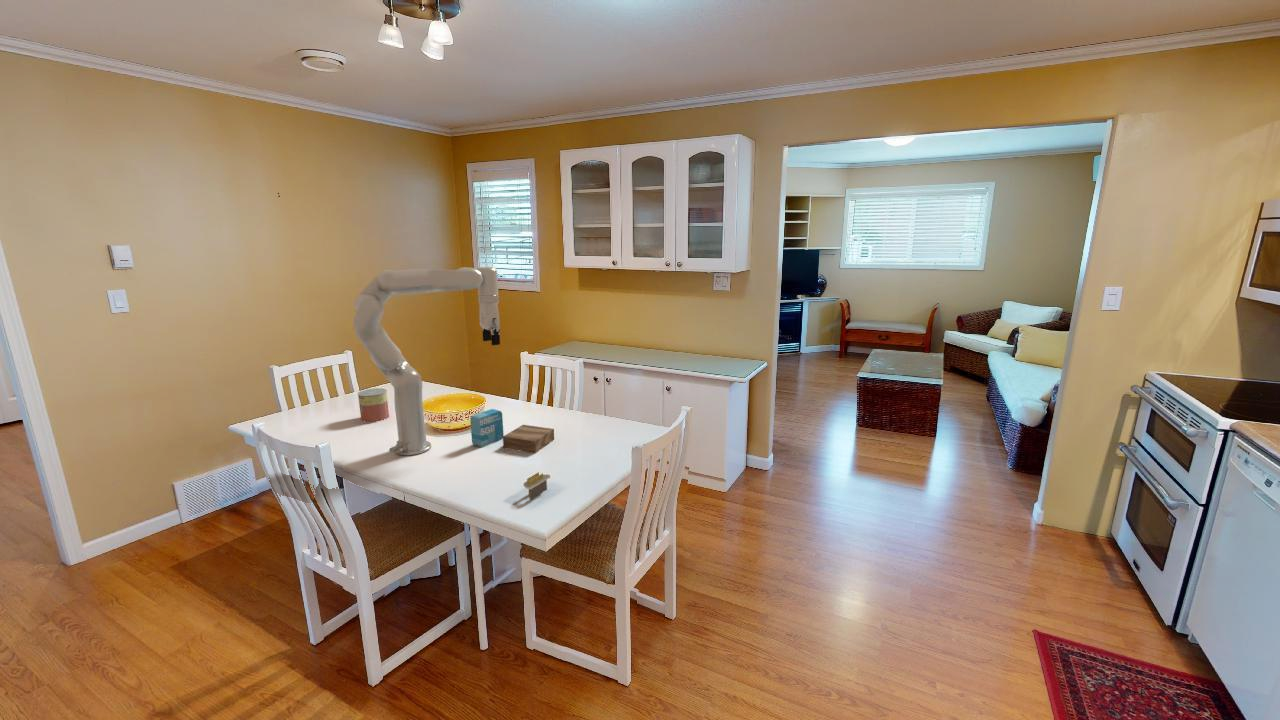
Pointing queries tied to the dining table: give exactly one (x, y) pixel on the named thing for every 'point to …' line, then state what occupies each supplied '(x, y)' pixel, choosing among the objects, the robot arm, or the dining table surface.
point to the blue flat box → (486, 427)
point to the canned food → (373, 405)
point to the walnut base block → (528, 438)
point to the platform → (536, 484)
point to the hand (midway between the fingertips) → (491, 342)
